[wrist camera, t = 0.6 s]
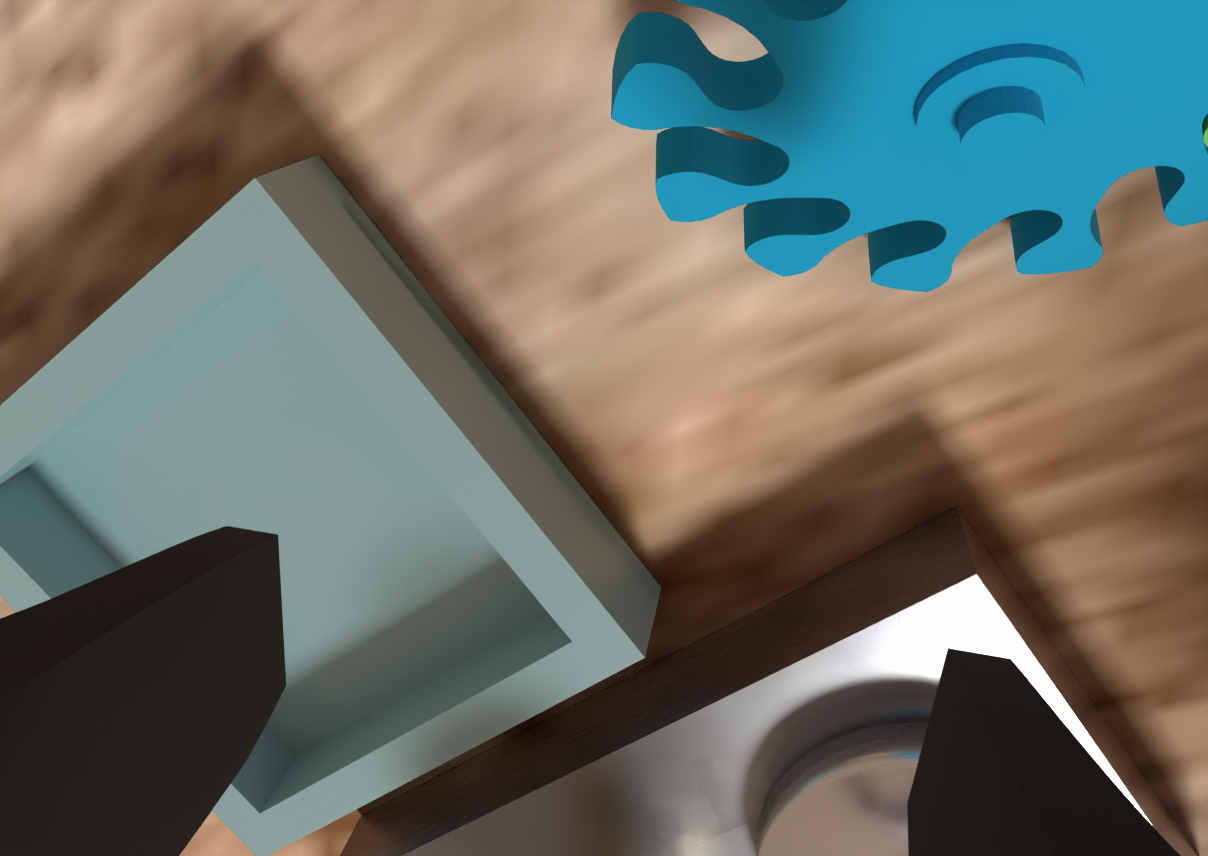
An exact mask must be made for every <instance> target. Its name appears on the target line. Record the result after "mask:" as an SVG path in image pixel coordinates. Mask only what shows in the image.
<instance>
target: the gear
mask: <svg viewBox="0 0 1208 856" xmlns="http://www.w3.org/2000/svg"><path fill="white" fill-rule="evenodd" d="M676 1H678V2H680V3H683V4H687V5H691V6H695V7H700V8H704V9H707V10H709V11H712V12H715V13H717V14H720V15H722V16H725V17H727V18H729V19H730V20H732V21H734V22H736V23H737V24H739V25H741V26H743V27H744V28H745V29H746V30H748V31H749V32H750V33H751V34H753V35H754V36H755V37H756V38H757V39H758V40H759V41H760V42H761V43H762V45H763V46H764V47H765V48H766V49H767V51H768V52H769V53H767V54H766V55H764V56H762V57H760V58H757V59H755V60H750V61H745V62H733V61H726V60H723V59H721V58H718V57H716V56H715V55H713V54H712V53H711V52H710V51H709V50H708V49H707V48H706V47H705V45H704V44H703V43H702V41H701V40H700V38H699V37H698V36H697V34H696V33H695V31H694V30H693V29H692V28H691V27H690V26H689V25H688V24H687V23H685V22H684V21H682V20H681V19H679V18H676V17H674V16H672V15H668V14H663V13H656V12H646V13H637V14H636V15H635V17H634V18H633V19H632V20H631V21H630V22H629V23H628V25H627V26H626V28H625V30H624V32H623V34H622V35H621V37H620V41H619V44H618V47H617V50H616V54H615V60H614V65H613V77H612V109H611V118H612V119H614V120H615V121H617V122H618V123H620V124H623V125H625V126H628V127H631V128H636V129H642V130H657V129H664V128H670V129H667V130H664V131H662V132H660V133H658V134H657V141H656V193H657V198H658V200H659V202H660V204H661V207H662V209H663V210H664V212H665V213H666V215H667V216H668V218H669V219H670V220H671V221H678V222H694V221H701V220H705V219H708V218H711V217H713V216H716V215H718V214H720V213H722V212H724V211H726V210H729V209H732V208H735V207H737V206H740V205H744V204H747V205H746V207H745V208H744V239H745V252H746V253H747V255H748V256H749V257H750V258H751V259H752V260H753V261H755V262H756V263H757V264H759V265H761V266H762V267H764V268H766V269H768V270H770V271H772V272H774V273H776V274H779V275H781V276H783V277H784V276H792V275H796V274H800V273H803V272H805V271H808V270H810V269H812V268H813V267H814V266H816V265H817V264H818V263H819V262H820V261H821V260H822V259H823V258H824V256H826V255H827V254H828V253H830V252H831V251H832V250H833V249H835V248H836V247H838V246H840V245H842V244H843V243H845V242H847V241H849V240H851V239H853V238H856V237H858V236H860V235H863V234H866V233H869V232H870V234H869V236H868V246H869V259H870V272H871V282H873V283H876V284H879V285H881V286H886V287H890V288H895V289H902V290H911V291H922V292H928V291H931V290H934V289H936V288H938V287H939V286H941V285H943V284H944V283H945V282H946V281H947V280H948V279H949V277H950V276H951V269H952V265H953V262H954V260H955V258H956V256H957V255H958V253H959V252H960V251H961V249H962V248H963V247H964V246H965V245H966V244H968V243H969V242H970V241H971V240H972V239H973V238H975V237H976V236H978V235H979V234H980V233H982V232H983V231H985V230H986V229H988V228H990V227H991V226H993V225H995V224H996V223H998V222H1000V221H1001V220H1003V219H1005V218H1007V217H1009V216H1011V215H1013V217H1012V219H1011V223H1010V225H1011V233H1012V240H1013V247H1014V254H1015V262H1016V267H1017V271H1018V272H1019V273H1020V274H1050V273H1059V272H1067V271H1073V270H1079V269H1085V268H1091V267H1092V266H1093V265H1095V264H1096V263H1097V262H1098V261H1099V260H1100V258H1101V257H1102V253H1103V249H1102V244H1101V238H1100V232H1099V227H1098V221H1097V215H1096V209H1095V207H1096V205H1097V204H1098V202H1099V200H1100V199H1101V198H1102V196H1103V195H1104V194H1105V192H1106V191H1107V189H1108V188H1109V187H1110V186H1111V185H1112V183H1113V182H1115V181H1116V180H1117V179H1119V178H1120V177H1122V176H1124V175H1126V174H1128V173H1130V172H1133V171H1135V170H1138V169H1142V168H1146V167H1153V166H1155V170H1156V175H1157V179H1158V184H1159V189H1160V194H1161V199H1162V204H1163V209H1164V214H1165V217H1166V219H1167V220H1168V221H1169V222H1171V223H1173V224H1175V225H1179V226H1185V225H1190V224H1194V223H1199V222H1202V221H1206V220H1208V0H676ZM699 126H700V127H699ZM671 127H673V128H671ZM704 127H714V128H721V129H726V130H731V131H736V132H739V133H743V134H746V135H749V136H752V137H755V138H757V139H758V140H739V139H735V138H732V137H729V136H726V135H724V134H721V133H719V132H716V131H714V130H711V129H708V128H704Z"/></svg>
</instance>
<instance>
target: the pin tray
mask: <svg viewBox="0 0 1208 856" xmlns="http://www.w3.org/2000/svg"><path fill="white" fill-rule="evenodd" d="M225 526H231V527H237V528H243V529H248V530H254V531H260V532H266V533H272V534H278V541H279V560H280V578H281V597H282V615H283V634H284V652H285V671H286V687H285V689H284V691H283V693H282V695H281V697H280V699H279V701H278V703H277V705H276V707H275V709H274V711H273V713H272V714H271V716H270V718H269V720H268V722H267V724H266V726H265V728H264V730H263V732H262V734H261V735H260V737H259V739H258V741H257V743H256V744H255V746H254V748H253V750H252V752H251V753H250V755H249V757H248V759H247V761H246V762H245V764H244V765H243V767H242V768H241V770H240V771H239V773H238V774H237V776H236V777H235V778H234V780H233V781H232V783H231V784H230V786H229V787H228V788H227V790H226V791H225V793H224V794H223V795H222V797H221V798H220V800H219V801H218V802H217V804H216V805H215V807H214V808H213V809H212V811H213V812H214V813H215V814H216V815H217V816H218V817H219V818H220V819H221V820H222V821H223V822H224V823H225V824H226V826H227V827H228V828H229V829H230V830H231V831H232V832H233V833H234V834H235V835H236V836H237V837H238V838H239V839H240V840H241V841H242V842H243V843H244V844H245V845H246V846H247V847H248V848H249V849H250V850H251V851H252V852H253V853H254V854H255V855H256V856H268V855H270V854H272V853H274V852H276V851H278V850H280V849H282V848H284V847H286V846H287V845H289V844H291V843H293V842H295V841H297V840H299V839H301V838H303V837H305V836H306V835H308V834H310V833H312V832H314V831H316V830H318V829H320V828H322V827H324V826H326V825H327V824H329V823H331V822H333V821H335V820H337V819H339V818H341V817H343V816H345V815H346V814H348V813H350V812H352V811H354V810H356V809H358V808H360V807H362V806H364V805H366V804H367V803H369V802H371V801H373V800H375V799H377V798H379V797H381V796H383V795H385V794H386V793H388V792H390V791H392V790H394V789H396V788H398V787H400V786H402V785H404V784H406V783H407V782H409V781H411V780H413V779H415V778H417V777H419V776H421V775H423V774H425V773H426V772H428V771H430V770H432V769H434V768H436V767H438V766H440V765H442V764H444V763H446V762H447V761H449V760H451V759H453V758H455V757H457V756H459V755H461V754H463V753H465V752H466V751H468V750H470V749H472V748H474V747H476V746H478V745H480V744H482V743H484V742H486V741H487V740H489V739H491V738H493V737H495V736H497V735H499V734H501V733H503V732H505V731H506V730H508V729H510V728H512V727H514V726H516V725H518V724H520V723H522V722H524V721H525V720H527V719H529V718H531V717H533V716H535V715H537V714H539V713H541V712H543V711H545V710H546V709H548V708H550V707H552V706H554V705H556V704H558V703H560V702H562V701H564V700H565V699H567V698H569V697H571V696H573V695H575V694H577V693H579V692H581V691H583V690H585V689H586V688H588V687H590V686H592V685H594V684H596V683H598V682H600V681H602V680H604V679H605V678H607V677H609V676H611V675H613V674H615V673H617V672H619V671H621V670H623V669H625V668H626V667H628V666H630V665H632V664H634V663H636V662H638V661H640V660H642V659H644V658H645V656H646V652H647V647H648V643H649V639H650V634H651V630H652V626H653V622H654V617H655V613H656V609H657V604H658V600H659V596H660V591H661V586H660V585H659V584H658V583H657V581H656V580H655V579H654V577H653V576H652V575H651V574H650V572H649V571H648V570H647V569H646V567H645V566H644V565H643V564H642V562H641V561H640V560H639V559H638V557H637V556H636V555H635V553H634V552H633V551H632V550H631V548H630V547H629V546H628V545H627V543H626V542H625V541H624V540H623V538H622V537H621V536H620V535H619V533H618V532H617V531H616V530H615V528H614V527H613V526H612V524H611V523H610V522H609V521H608V519H607V518H606V517H605V516H604V514H603V513H602V512H601V511H600V509H599V508H598V507H597V506H596V504H595V503H594V502H593V500H592V499H591V498H590V497H589V495H588V494H587V493H586V492H585V490H584V489H583V488H582V487H581V485H580V484H579V483H578V482H577V480H576V479H575V478H574V476H573V475H572V474H571V473H570V471H569V470H568V469H567V468H566V466H565V465H564V464H563V463H562V461H561V460H560V459H559V458H558V456H557V455H556V454H555V452H554V451H553V450H552V449H551V447H550V446H549V445H548V444H547V442H546V441H545V440H544V439H543V437H542V436H541V435H540V434H539V432H538V431H537V430H536V428H535V427H534V426H533V425H532V423H531V422H530V421H529V420H528V418H527V417H526V416H525V415H524V413H523V412H522V411H521V410H520V408H519V407H518V406H517V404H516V403H515V402H514V401H513V399H512V398H511V397H510V396H509V394H508V393H507V392H506V391H505V389H504V388H503V387H502V386H501V384H500V383H499V382H498V380H497V379H496V378H495V377H494V375H493V374H492V373H491V372H490V370H489V369H488V368H487V367H486V365H485V364H484V363H483V362H482V360H481V359H480V358H479V357H478V355H477V354H476V353H475V351H474V350H473V349H472V348H471V346H470V345H469V344H468V343H467V341H466V340H465V339H464V338H463V336H462V335H461V334H460V333H459V331H458V330H457V329H456V327H455V326H454V325H453V324H452V322H451V321H450V320H449V319H448V317H447V316H446V315H445V314H444V312H443V311H442V310H441V309H440V307H439V306H438V305H437V303H436V302H435V301H434V300H433V298H432V297H431V296H430V295H429V293H428V292H427V291H426V290H425V288H424V287H423V286H422V285H421V283H420V282H419V281H418V279H417V278H416V277H415V276H414V274H413V273H412V272H411V271H410V269H409V268H408V267H407V266H406V264H405V263H404V262H403V261H402V259H401V258H400V257H399V255H398V254H397V253H396V252H395V250H394V249H393V248H392V247H391V245H390V244H389V243H388V242H387V240H386V239H385V238H384V237H383V235H382V234H381V233H380V231H379V230H378V229H377V228H376V226H375V225H374V224H373V223H372V221H371V220H370V219H369V218H368V216H367V215H366V214H365V213H364V211H363V210H362V209H361V207H360V206H359V205H358V204H357V202H356V201H355V200H354V199H353V197H352V196H351V195H350V194H349V192H348V191H347V190H346V189H345V187H344V186H343V185H342V184H341V182H340V181H339V180H338V178H337V177H336V176H335V175H334V173H333V172H332V171H331V170H330V168H329V167H328V166H327V165H326V163H325V162H324V161H323V160H322V158H321V157H320V156H319V155H316V156H313V157H311V158H308V159H305V160H302V161H300V162H297V163H294V164H291V165H289V166H286V167H283V168H280V169H278V170H275V171H272V172H270V173H267V174H264V175H261V176H259V177H256V178H254V179H253V180H252V181H251V182H250V183H249V184H247V185H246V186H245V187H244V188H243V189H242V190H241V191H240V192H238V193H237V194H236V195H235V196H234V197H233V198H232V199H231V200H230V201H228V202H227V203H226V204H225V205H224V206H223V207H222V208H221V209H219V210H218V211H217V212H216V213H215V214H214V215H213V216H212V217H210V218H209V219H208V220H207V221H206V222H205V223H204V224H203V225H202V226H200V227H199V228H198V229H197V230H196V231H195V232H194V233H193V234H191V235H190V236H189V237H188V238H187V239H186V240H185V241H184V242H183V243H181V244H180V245H179V246H178V247H177V248H176V249H175V250H174V251H172V252H171V253H170V254H169V255H168V256H167V257H166V258H165V259H163V260H162V261H161V262H160V263H159V264H158V265H157V266H156V267H155V268H153V269H152V270H151V271H150V272H149V273H148V274H147V275H146V276H144V277H143V278H142V279H141V280H140V281H139V282H138V283H137V284H136V285H134V286H133V287H132V288H131V289H130V290H129V291H128V292H127V293H125V294H124V295H123V296H122V297H121V298H120V299H119V300H118V301H116V302H115V303H114V304H113V305H112V306H111V307H110V308H109V309H108V310H106V311H105V312H104V313H103V314H102V315H101V316H100V317H99V318H97V319H96V320H95V321H94V322H93V323H92V324H91V325H90V326H89V327H87V328H86V329H85V330H84V331H83V332H82V333H81V334H80V335H78V336H77V337H76V338H75V339H74V340H73V341H72V342H71V343H69V344H68V345H67V346H66V347H65V348H64V349H63V350H62V351H61V352H59V353H58V354H57V355H56V356H55V357H54V358H53V359H52V360H50V361H49V362H48V363H47V364H46V365H45V366H44V367H43V368H42V369H40V370H39V371H38V372H37V373H36V374H35V375H34V376H33V377H31V378H30V379H29V380H28V381H27V382H26V383H25V384H24V385H22V386H21V387H20V388H19V389H18V390H17V391H16V392H15V393H14V394H12V395H11V396H10V397H9V398H8V399H7V400H6V401H5V402H3V403H2V404H1V405H0V596H1V597H2V598H3V599H4V600H5V601H6V602H7V603H8V604H9V605H10V606H11V607H12V608H13V609H14V610H15V611H16V612H19V611H21V610H24V609H27V608H29V607H32V606H34V605H37V604H39V603H42V602H44V601H47V600H49V599H51V598H54V597H56V596H58V595H61V594H63V593H65V592H68V591H70V590H72V589H75V588H77V587H79V586H82V585H84V584H86V583H89V582H91V581H93V580H95V579H98V578H100V577H102V576H105V575H107V574H109V573H112V572H114V571H116V570H119V569H121V568H123V567H126V566H128V565H130V564H132V563H135V562H137V561H139V560H142V559H144V558H146V557H148V556H151V555H153V554H155V553H158V552H160V551H162V550H165V549H167V548H169V547H172V546H174V545H177V544H179V543H181V542H184V541H186V540H189V539H191V538H194V537H196V536H199V535H202V534H204V533H207V532H210V531H213V530H216V529H219V528H222V527H225Z"/></svg>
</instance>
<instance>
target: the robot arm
mask: <svg viewBox="0 0 1208 856" xmlns="http://www.w3.org/2000/svg"><path fill="white" fill-rule="evenodd" d="M285 687H286V671H285V652H284V634H283V615H282V597H281V578H280V560H279V541H278V534H272V533H266V532H260V531H254V530H248V529H243V528H237V527H231V526H225V527H222V528H219V529H216V530H213V531H210V532H207V533H204V534H202V535H199V536H196V537H194V538H191V539H189V540H186V541H184V542H181V543H179V544H177V545H174V546H172V547H169V548H167V549H165V550H162V551H160V552H158V553H155V554H153V555H151V556H148V557H146V558H144V559H142V560H139V561H137V562H135V563H132V564H130V565H128V566H126V567H123V568H121V569H119V570H116V571H114V572H112V573H109V574H107V575H105V576H102V577H100V578H98V579H95V580H93V581H91V582H89V583H86V584H84V585H82V586H79V587H77V588H75V589H72V590H70V591H68V592H65V593H63V594H61V595H58V596H56V597H54V598H51V599H49V600H47V601H44V602H42V603H39V604H37V605H34V606H32V607H29V608H27V609H24V610H21V611H19V612H16V613H14V614H11V615H9V616H6V617H4V618H1V619H0V856H179V855H180V854H181V852H182V851H183V849H184V848H185V847H186V845H187V844H188V843H189V841H190V840H191V838H192V837H193V836H194V834H195V833H196V832H197V830H198V829H199V827H200V826H201V825H202V823H203V822H204V821H205V819H206V818H207V816H208V815H209V814H210V812H211V811H212V809H213V808H214V807H215V805H216V804H217V802H218V801H219V800H220V798H221V797H222V795H223V794H224V793H225V791H226V790H227V788H228V787H229V786H230V784H231V783H232V781H233V780H234V778H235V777H236V776H237V774H238V773H239V771H240V770H241V768H242V767H243V765H244V764H245V762H246V761H247V759H248V757H249V755H250V753H251V752H252V750H253V748H254V746H255V744H256V743H257V741H258V739H259V737H260V735H261V734H262V732H263V730H264V728H265V726H266V724H267V722H268V720H269V718H270V716H271V714H272V713H273V711H274V709H275V707H276V705H277V703H278V701H279V699H280V697H281V695H282V693H283V691H284V689H285ZM907 814H908V853H909V856H1180V855H1179V854H1178V853H1177V852H1176V850H1175V849H1174V848H1173V847H1172V846H1171V845H1170V844H1169V843H1168V842H1167V841H1166V840H1165V839H1164V838H1163V837H1162V836H1161V835H1160V833H1159V832H1158V831H1157V830H1156V829H1155V828H1154V827H1153V826H1152V825H1151V824H1150V823H1149V821H1148V820H1147V819H1146V818H1145V817H1144V816H1143V815H1142V814H1141V813H1140V812H1139V810H1138V809H1137V808H1136V807H1135V806H1134V805H1133V804H1132V803H1131V801H1130V800H1129V799H1128V798H1127V797H1126V796H1125V795H1124V794H1123V792H1122V791H1121V790H1120V789H1119V788H1118V787H1117V786H1116V784H1115V783H1114V782H1113V781H1112V780H1111V779H1110V777H1109V776H1108V775H1107V774H1106V773H1105V772H1104V771H1103V769H1102V768H1101V767H1100V766H1099V765H1098V763H1097V762H1096V761H1095V760H1094V759H1093V758H1092V756H1091V755H1090V754H1089V753H1088V752H1087V750H1086V749H1085V748H1084V747H1083V746H1082V744H1081V743H1080V742H1079V741H1078V740H1077V738H1076V737H1075V736H1074V735H1073V734H1072V732H1071V731H1070V730H1069V729H1068V727H1067V726H1066V725H1065V724H1064V723H1063V721H1062V720H1061V719H1060V718H1059V717H1058V715H1057V714H1056V713H1055V712H1054V710H1053V709H1052V708H1051V707H1050V705H1049V704H1048V703H1047V702H1046V701H1045V699H1044V698H1043V697H1042V696H1041V694H1040V693H1039V692H1038V691H1037V690H1036V688H1035V687H1034V686H1033V685H1032V683H1031V682H1030V681H1029V680H1028V679H1027V677H1026V676H1025V675H1024V674H1023V673H1022V671H1021V670H1020V669H1019V668H1018V667H1017V666H1016V664H1015V663H1014V662H1013V661H1012V660H1011V659H1009V658H1003V657H997V656H991V655H985V654H979V653H974V652H968V651H962V650H956V649H950V648H948V650H947V654H946V658H945V662H944V665H943V669H942V673H941V677H940V681H939V684H938V688H937V692H936V696H935V700H934V703H933V707H932V711H931V715H930V719H929V722H928V726H927V730H926V734H925V738H924V741H923V745H922V749H921V753H920V757H919V760H918V764H917V768H916V772H915V776H914V779H913V783H912V787H911V791H910V795H909V798H908V802H907Z"/></svg>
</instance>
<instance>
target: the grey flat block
mask: <svg viewBox="0 0 1208 856" xmlns="http://www.w3.org/2000/svg"><path fill="white" fill-rule="evenodd" d="M948 648H950V649H956V650H962V651H968V652H974V653H979V654H985V655H991V656H997V657H1003V658H1009V659H1011V660H1012V661H1013V662H1014V663H1015V664H1016V666H1017V667H1018V668H1019V669H1020V670H1021V671H1022V673H1023V674H1024V675H1025V676H1026V677H1027V679H1028V680H1029V681H1030V682H1031V683H1032V685H1033V686H1034V687H1035V688H1036V690H1037V691H1038V692H1039V693H1040V694H1041V696H1042V697H1043V698H1044V699H1045V701H1046V702H1047V703H1048V704H1049V705H1050V707H1051V708H1052V709H1053V710H1054V712H1055V713H1056V714H1057V715H1058V717H1059V718H1060V719H1061V720H1062V721H1063V723H1064V724H1065V725H1066V726H1067V727H1068V729H1069V730H1070V731H1071V732H1072V734H1073V735H1074V736H1075V737H1076V738H1077V740H1078V741H1079V742H1080V743H1081V744H1082V746H1083V747H1084V748H1085V749H1086V750H1087V752H1088V753H1089V754H1090V755H1091V756H1092V758H1093V759H1094V760H1095V761H1096V762H1097V763H1098V765H1099V766H1100V767H1101V768H1102V769H1103V771H1104V772H1105V773H1106V774H1107V775H1108V776H1109V777H1110V779H1111V780H1112V781H1113V782H1114V783H1115V784H1116V786H1117V787H1118V788H1119V789H1120V790H1121V791H1122V792H1123V794H1124V795H1125V796H1126V797H1127V798H1128V799H1129V800H1130V801H1131V803H1132V804H1133V805H1134V806H1135V807H1136V808H1137V809H1138V810H1139V812H1140V813H1141V814H1142V815H1143V816H1144V817H1145V818H1146V819H1147V820H1148V821H1149V823H1150V824H1151V825H1152V826H1153V827H1154V828H1155V829H1156V830H1157V831H1158V832H1159V833H1160V835H1161V836H1162V837H1163V838H1164V839H1165V840H1166V841H1167V842H1168V843H1169V844H1170V845H1171V846H1172V847H1173V848H1174V849H1175V850H1176V852H1177V853H1178V854H1179V855H1180V856H1198V855H1197V853H1196V852H1195V850H1194V849H1193V847H1192V846H1191V845H1190V843H1189V842H1188V840H1187V839H1186V837H1185V836H1184V834H1183V833H1182V832H1181V830H1180V829H1179V827H1178V826H1177V824H1176V823H1175V821H1174V820H1173V819H1172V817H1171V816H1170V814H1169V813H1168V811H1167V810H1166V808H1165V807H1164V806H1163V804H1162V803H1161V801H1160V800H1159V798H1158V797H1157V795H1156V794H1155V792H1154V791H1153V790H1152V788H1151V787H1150V785H1149V784H1148V782H1147V781H1146V779H1145V778H1144V777H1143V775H1142V774H1141V772H1140V771H1139V769H1138V768H1137V766H1136V765H1135V764H1134V762H1133V761H1132V759H1131V758H1130V756H1129V755H1128V753H1127V752H1126V750H1125V749H1124V748H1123V746H1122V745H1121V743H1120V742H1119V740H1118V739H1117V737H1116V736H1115V735H1114V733H1113V732H1112V730H1111V729H1110V727H1109V726H1108V724H1107V723H1106V722H1105V720H1104V719H1103V717H1102V716H1101V714H1100V713H1099V711H1098V710H1097V708H1096V707H1095V706H1094V704H1093V703H1092V701H1091V700H1090V698H1089V697H1088V695H1087V694H1086V693H1085V691H1084V690H1083V688H1082V687H1081V685H1080V684H1079V682H1078V681H1077V680H1076V678H1075V677H1074V675H1073V674H1072V672H1071V671H1070V669H1069V668H1068V667H1067V665H1066V664H1065V662H1064V661H1063V659H1062V658H1061V656H1060V655H1059V653H1058V652H1057V651H1056V649H1055V648H1054V646H1053V645H1052V643H1051V642H1050V640H1049V639H1048V638H1047V636H1046V635H1045V633H1044V632H1043V630H1042V629H1041V627H1040V626H1039V625H1038V623H1037V622H1036V620H1035V619H1034V617H1033V616H1032V614H1031V613H1030V611H1029V610H1028V609H1027V607H1026V606H1025V604H1024V603H1023V601H1022V600H1021V598H1020V597H1019V596H1018V594H1017V593H1016V591H1015V590H1014V588H1013V587H1012V585H1011V584H1010V583H1009V581H1008V580H1007V578H1006V577H1005V575H1004V574H1003V572H1002V571H1001V570H1000V568H999V567H998V565H997V564H996V562H995V561H994V559H993V558H992V556H991V555H990V554H989V552H988V551H987V549H986V548H985V546H984V545H983V543H982V542H981V541H980V539H979V538H978V536H977V535H976V533H975V532H974V530H973V529H972V528H971V526H970V525H969V523H968V522H967V520H966V519H965V517H964V516H963V514H962V513H961V512H960V510H959V509H958V507H956V508H954V509H952V510H950V511H948V512H946V513H944V514H942V515H940V516H938V517H936V518H934V519H933V520H931V521H929V522H927V523H925V524H923V525H921V526H919V527H917V528H915V529H913V530H911V531H909V532H908V533H906V534H904V535H902V536H900V537H898V538H896V539H894V540H892V541H890V542H888V543H886V544H884V545H883V546H881V547H879V548H877V549H875V550H873V551H871V552H869V553H867V554H865V555H863V556H861V557H859V558H858V559H856V560H854V561H852V562H850V563H848V564H846V565H844V566H842V567H840V568H838V569H836V570H834V571H833V572H831V573H829V574H827V575H825V576H823V577H821V578H819V579H817V580H815V581H813V582H811V583H809V584H808V585H806V586H804V587H802V588H800V589H798V590H796V591H794V592H792V593H790V594H788V595H786V596H784V597H783V598H781V599H779V600H777V601H775V602H773V603H771V604H769V605H767V606H765V607H763V608H761V609H759V610H758V611H756V612H754V613H752V614H750V615H748V616H746V617H744V618H742V619H740V620H738V621H736V622H734V623H733V624H731V625H729V626H727V627H725V628H723V629H721V630H719V631H717V632H715V633H713V634H711V635H709V636H708V637H706V638H704V639H702V640H700V641H698V642H696V643H694V644H692V645H690V646H688V647H686V648H684V649H683V650H681V651H679V652H677V653H675V654H673V655H671V656H669V657H667V658H665V659H663V660H661V661H659V662H658V663H656V664H654V665H652V666H650V667H648V668H646V669H644V670H642V671H640V672H638V673H636V674H634V675H633V676H631V677H629V678H627V679H625V680H623V681H621V682H619V683H617V684H615V685H613V686H611V687H609V688H608V689H606V690H604V691H602V692H600V693H598V694H596V695H594V696H592V697H590V698H588V699H586V700H585V701H583V702H581V703H579V704H577V705H575V706H573V707H571V708H569V709H567V710H565V711H563V712H561V713H560V714H558V715H556V716H554V717H552V718H550V719H548V720H546V721H544V722H542V723H540V724H538V725H536V726H535V727H533V728H531V729H529V730H527V731H525V732H523V733H521V734H519V735H517V736H515V737H513V738H511V739H510V740H508V741H506V742H504V743H502V744H500V745H498V746H496V747H494V748H492V749H490V750H488V751H486V752H485V753H483V754H481V755H479V756H477V757H475V758H473V759H471V760H469V761H467V762H465V763H463V764H461V765H460V766H458V767H456V768H454V769H452V770H450V771H448V772H446V773H444V774H442V775H440V776H438V777H436V778H435V779H433V780H431V781H429V782H427V783H425V784H423V785H421V786H419V787H417V788H415V789H413V790H411V791H410V792H408V793H406V794H404V795H402V796H400V797H398V798H396V799H394V800H392V801H390V802H388V803H386V804H385V805H383V806H381V807H379V808H377V809H375V810H373V811H371V812H369V813H367V814H365V815H363V816H361V817H360V819H359V821H358V823H357V824H356V826H355V828H354V830H353V832H352V834H351V836H350V838H349V840H348V842H347V843H346V845H345V847H344V849H343V851H342V853H341V855H340V856H909V853H908V814H907V802H908V798H909V795H910V791H911V787H912V783H913V779H914V776H915V772H916V768H917V764H918V760H919V757H920V753H921V749H922V745H923V741H924V738H925V734H926V730H927V726H928V722H929V719H930V715H931V711H932V707H933V703H934V700H935V696H936V692H937V688H938V684H939V681H940V677H941V673H942V669H943V665H944V662H945V658H946V654H947V650H948Z"/></svg>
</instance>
